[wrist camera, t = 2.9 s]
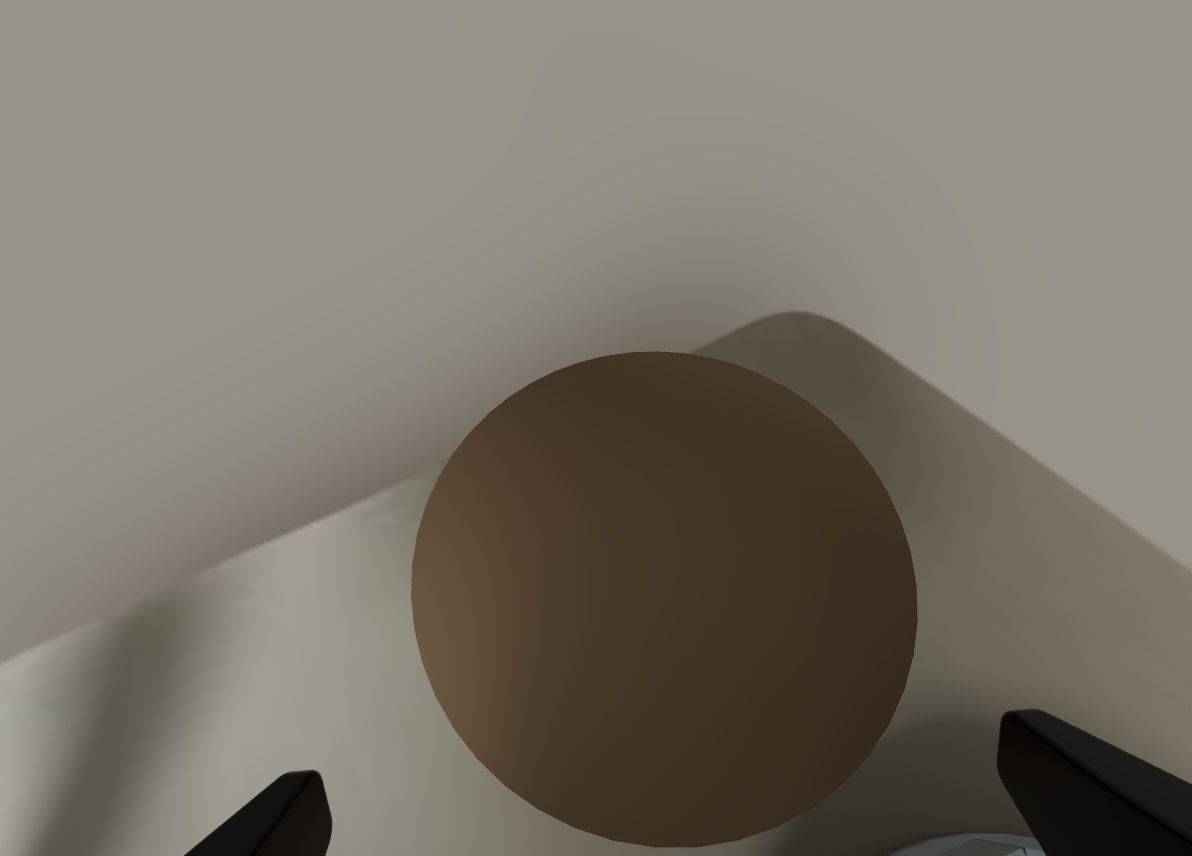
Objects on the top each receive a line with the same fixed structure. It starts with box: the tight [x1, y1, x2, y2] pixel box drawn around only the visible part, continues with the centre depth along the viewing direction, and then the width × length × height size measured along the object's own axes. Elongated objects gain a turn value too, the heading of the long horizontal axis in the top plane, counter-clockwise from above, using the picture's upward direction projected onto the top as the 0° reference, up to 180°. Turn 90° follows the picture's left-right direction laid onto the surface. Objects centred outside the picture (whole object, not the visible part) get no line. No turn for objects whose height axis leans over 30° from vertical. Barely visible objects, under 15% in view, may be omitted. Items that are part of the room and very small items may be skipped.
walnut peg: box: [411, 352, 918, 847], centre depth 11 cm, size 6×6×13 cm
